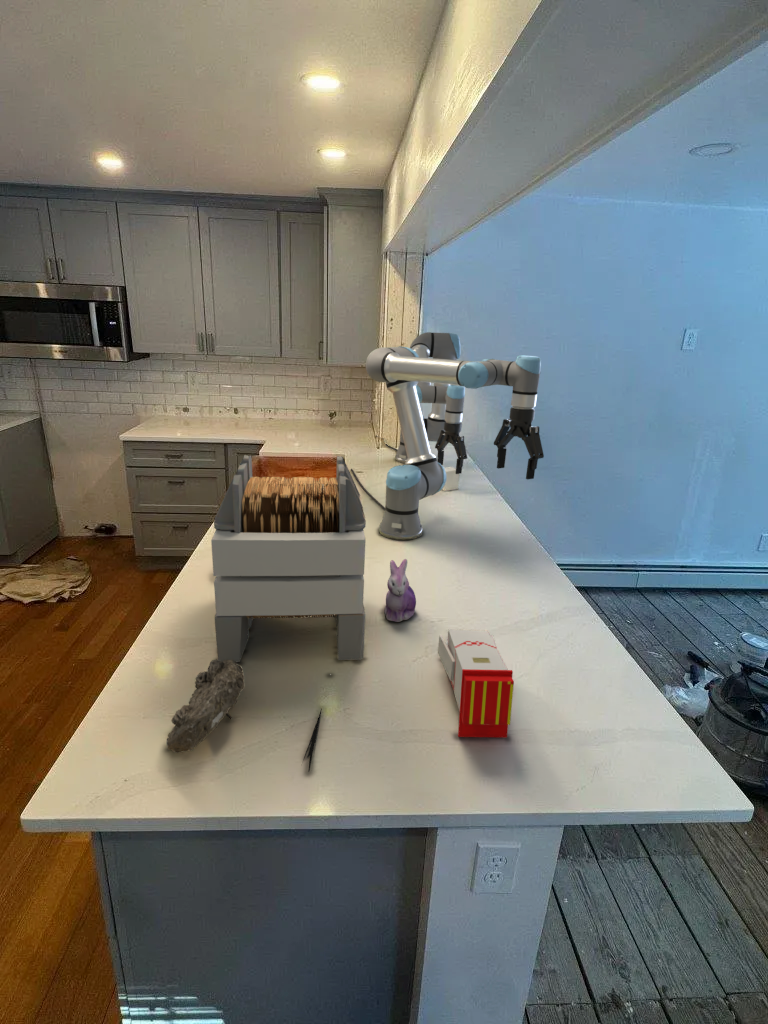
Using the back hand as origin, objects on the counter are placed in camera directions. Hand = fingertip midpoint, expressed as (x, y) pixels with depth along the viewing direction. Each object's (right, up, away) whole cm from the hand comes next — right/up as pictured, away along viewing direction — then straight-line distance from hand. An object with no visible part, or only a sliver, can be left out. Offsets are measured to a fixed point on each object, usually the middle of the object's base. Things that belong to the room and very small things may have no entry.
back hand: (449, 469), depth 251 cm
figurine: (-25, -46, -104) cm, 116 cm away
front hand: (+13, -6, -68) cm, 70 cm away
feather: (-41, -59, -143) cm, 160 cm away
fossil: (-62, -58, -143) cm, 166 cm away
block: (0, -8, +3) cm, 9 cm away
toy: (-11, -57, -133) cm, 145 cm away
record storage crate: (-51, -47, -110) cm, 130 cm away
